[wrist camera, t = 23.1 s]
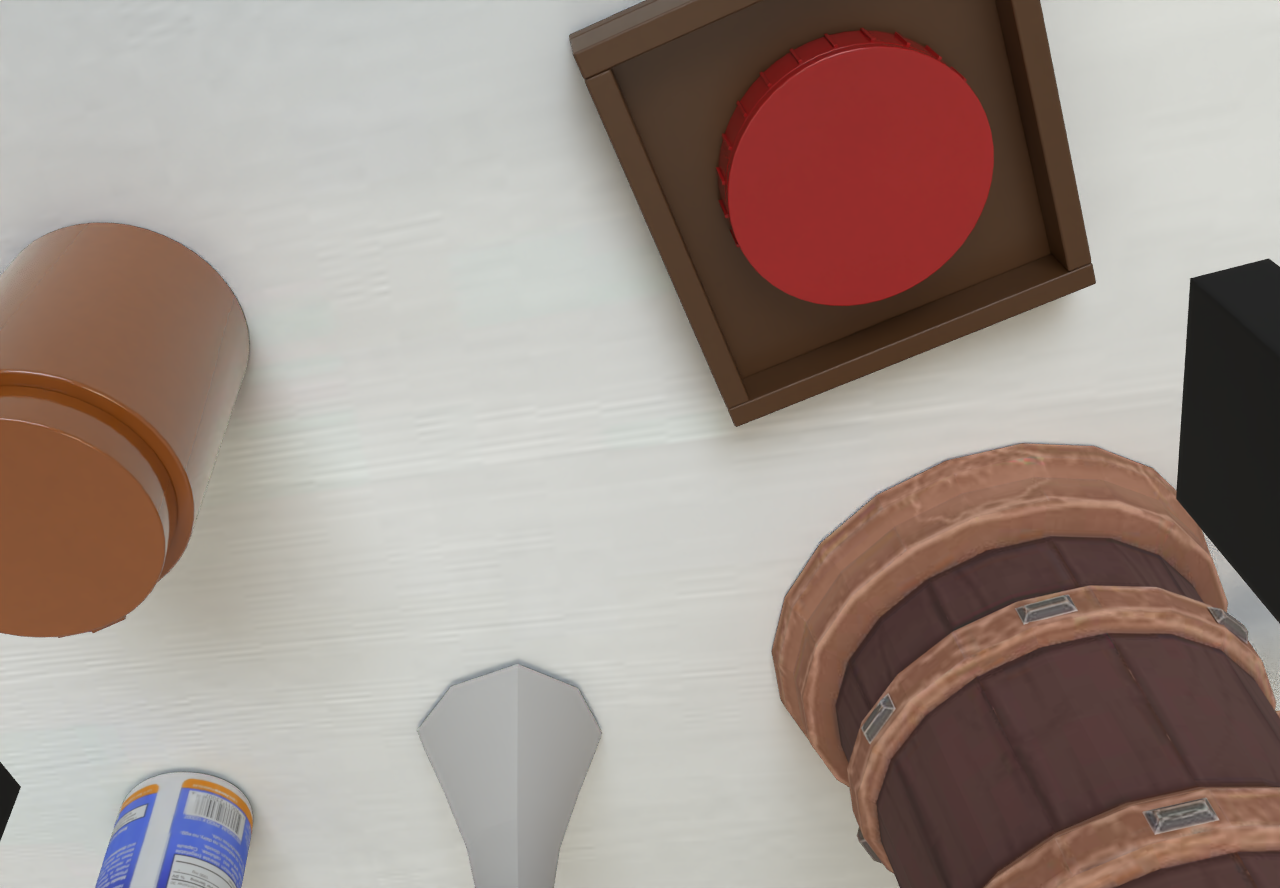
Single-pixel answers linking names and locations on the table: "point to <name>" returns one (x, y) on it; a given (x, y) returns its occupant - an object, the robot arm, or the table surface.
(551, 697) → the flask
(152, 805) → the pill bottle
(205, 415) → the jar
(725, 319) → the tray
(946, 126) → the lid
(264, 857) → the table surface
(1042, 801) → the mug
